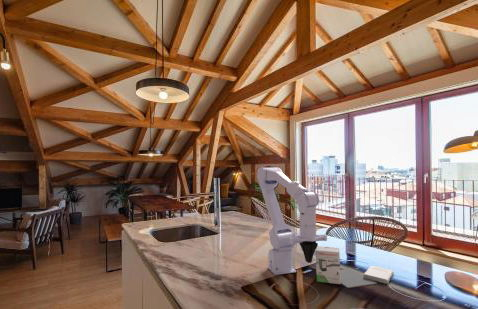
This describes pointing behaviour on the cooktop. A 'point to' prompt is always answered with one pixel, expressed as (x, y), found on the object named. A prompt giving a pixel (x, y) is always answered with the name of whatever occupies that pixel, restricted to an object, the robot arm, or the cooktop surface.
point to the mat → (354, 279)
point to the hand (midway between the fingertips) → (308, 261)
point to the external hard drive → (378, 274)
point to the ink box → (328, 265)
